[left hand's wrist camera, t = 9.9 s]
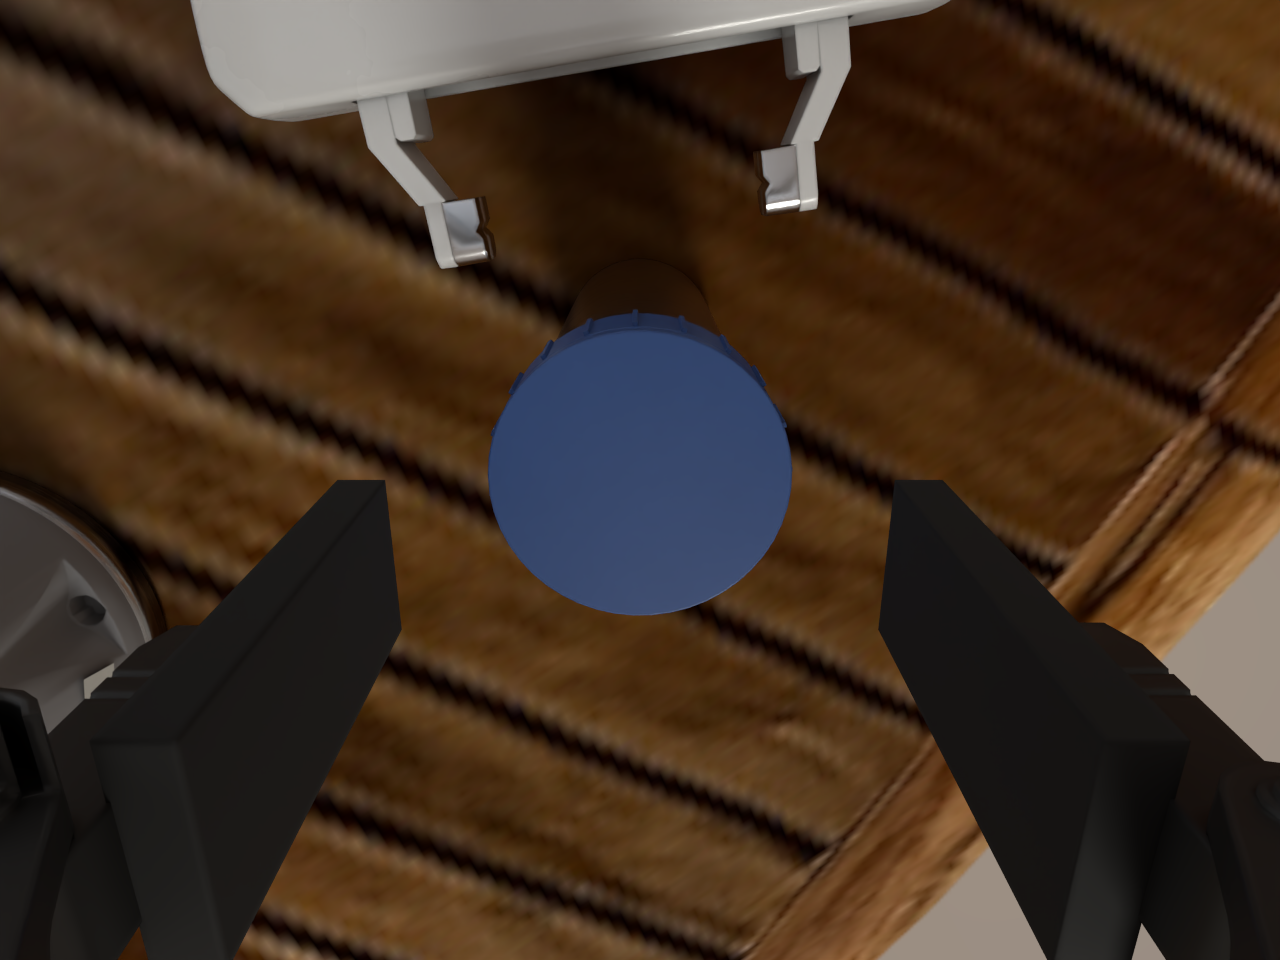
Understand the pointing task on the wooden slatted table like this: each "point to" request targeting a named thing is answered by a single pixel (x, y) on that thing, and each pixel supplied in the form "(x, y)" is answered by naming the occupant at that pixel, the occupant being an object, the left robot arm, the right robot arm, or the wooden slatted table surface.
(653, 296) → the jar
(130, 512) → the wooden slatted table surface
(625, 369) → the lid
